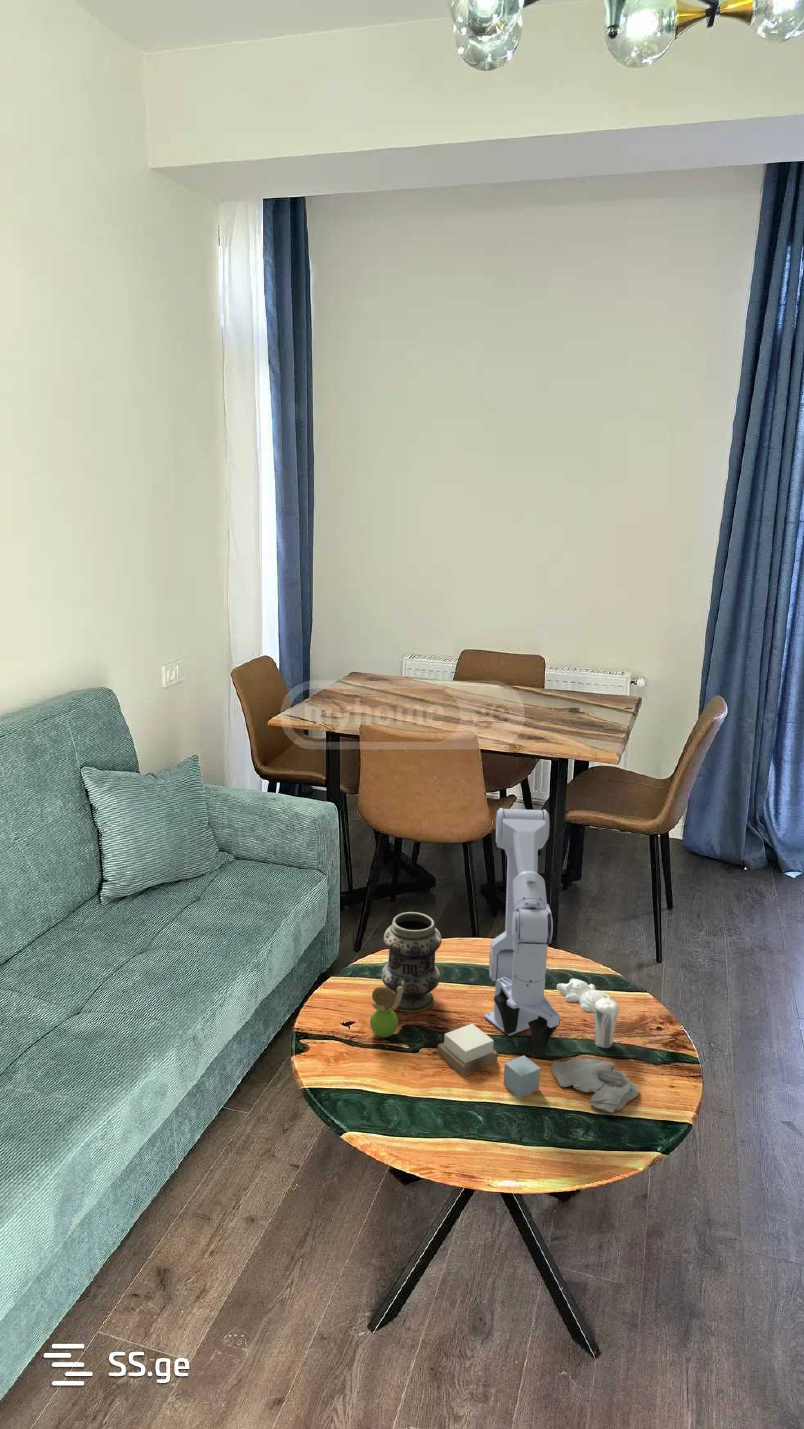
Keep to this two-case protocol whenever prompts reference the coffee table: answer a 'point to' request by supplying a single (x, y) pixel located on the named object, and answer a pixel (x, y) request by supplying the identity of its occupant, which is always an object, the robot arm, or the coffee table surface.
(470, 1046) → the cream slab
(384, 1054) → the coffee table surface
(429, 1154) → the coffee table surface
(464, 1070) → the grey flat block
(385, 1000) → the snail figurine
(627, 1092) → the fossil
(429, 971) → the apothecary jar
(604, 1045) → the milkshake
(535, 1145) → the coffee table surface
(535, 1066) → the slate block
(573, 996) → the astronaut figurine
